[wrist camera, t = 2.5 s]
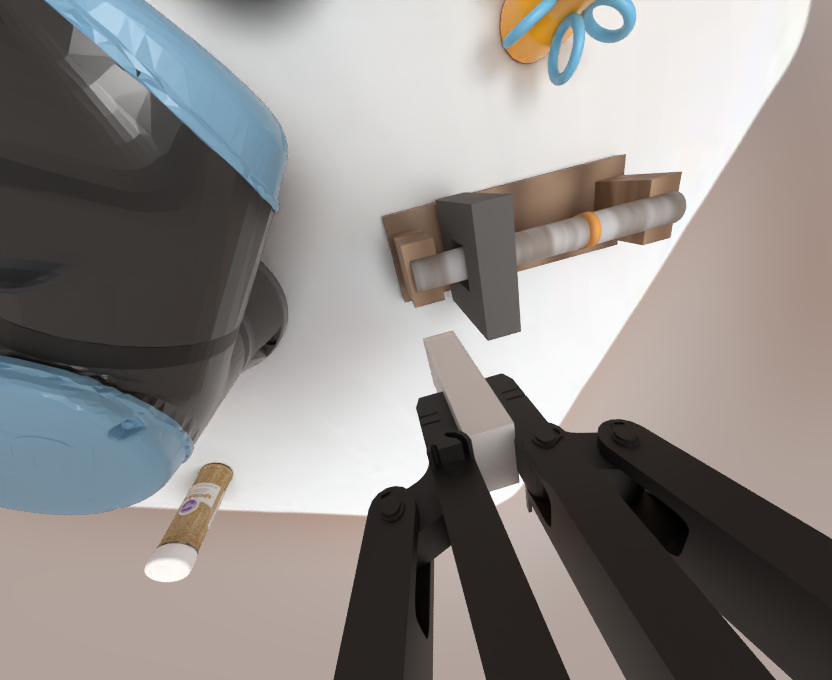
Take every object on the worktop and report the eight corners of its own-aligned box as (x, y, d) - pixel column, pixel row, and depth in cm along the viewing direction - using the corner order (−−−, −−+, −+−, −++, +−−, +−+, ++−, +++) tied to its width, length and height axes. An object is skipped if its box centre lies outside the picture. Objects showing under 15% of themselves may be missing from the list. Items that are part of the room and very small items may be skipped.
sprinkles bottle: (221, 458, 44) (170, 555, 33) (240, 476, 47) (199, 574, 35) (192, 469, 44) (132, 570, 33) (212, 487, 47) (162, 588, 35)
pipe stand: (403, 298, 38) (417, 333, 29) (382, 216, 34) (390, 226, 24) (608, 242, 40) (686, 258, 30) (615, 155, 35) (710, 142, 25)
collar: (452, 299, 36) (488, 340, 26) (435, 199, 30) (471, 204, 21) (477, 293, 36) (520, 331, 26) (463, 192, 31) (512, 193, 21)
